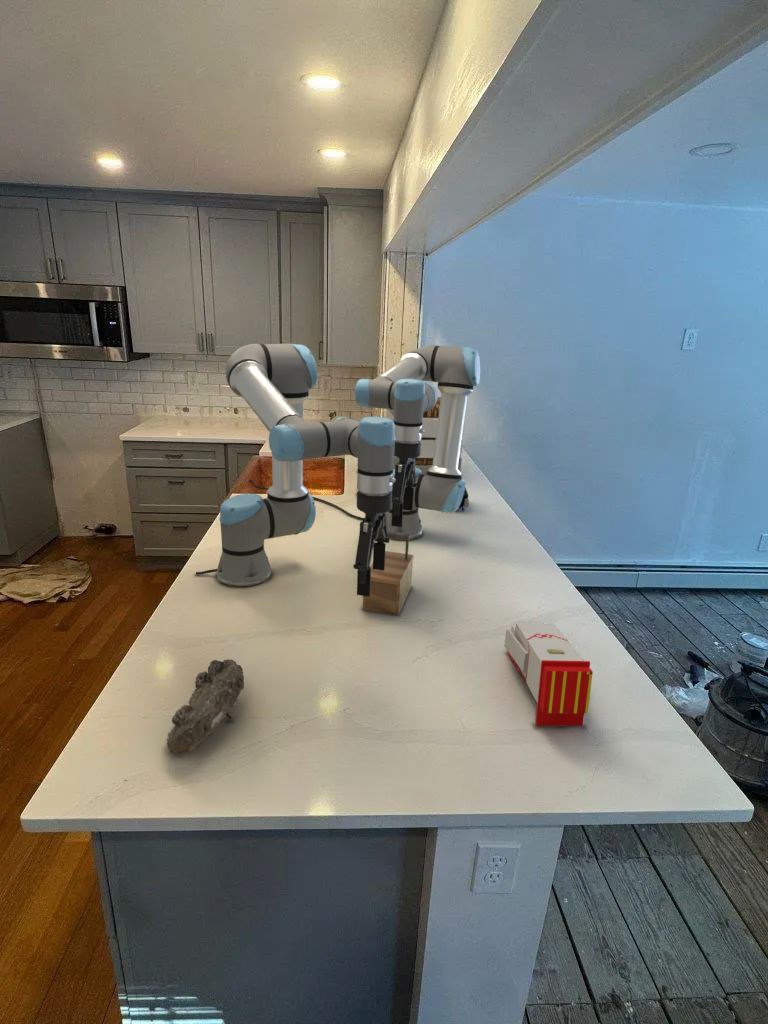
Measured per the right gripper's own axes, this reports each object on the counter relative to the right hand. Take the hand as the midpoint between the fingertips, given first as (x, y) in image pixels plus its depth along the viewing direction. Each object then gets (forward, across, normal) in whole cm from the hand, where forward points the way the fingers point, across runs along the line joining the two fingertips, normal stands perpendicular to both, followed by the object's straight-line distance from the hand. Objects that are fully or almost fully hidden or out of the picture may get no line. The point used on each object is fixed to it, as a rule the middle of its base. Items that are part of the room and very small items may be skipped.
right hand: (402, 517), depth 154 cm
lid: (+13, -6, +1) cm, 14 cm away
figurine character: (+21, +77, -7) cm, 80 cm away
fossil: (+22, -63, +22) cm, 70 cm away
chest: (+21, -6, +1) cm, 22 cm away
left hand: (+5, -31, 0) cm, 31 cm away
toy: (+22, -33, -39) cm, 55 cm away
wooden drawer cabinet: (+21, +120, +17) cm, 123 cm away
